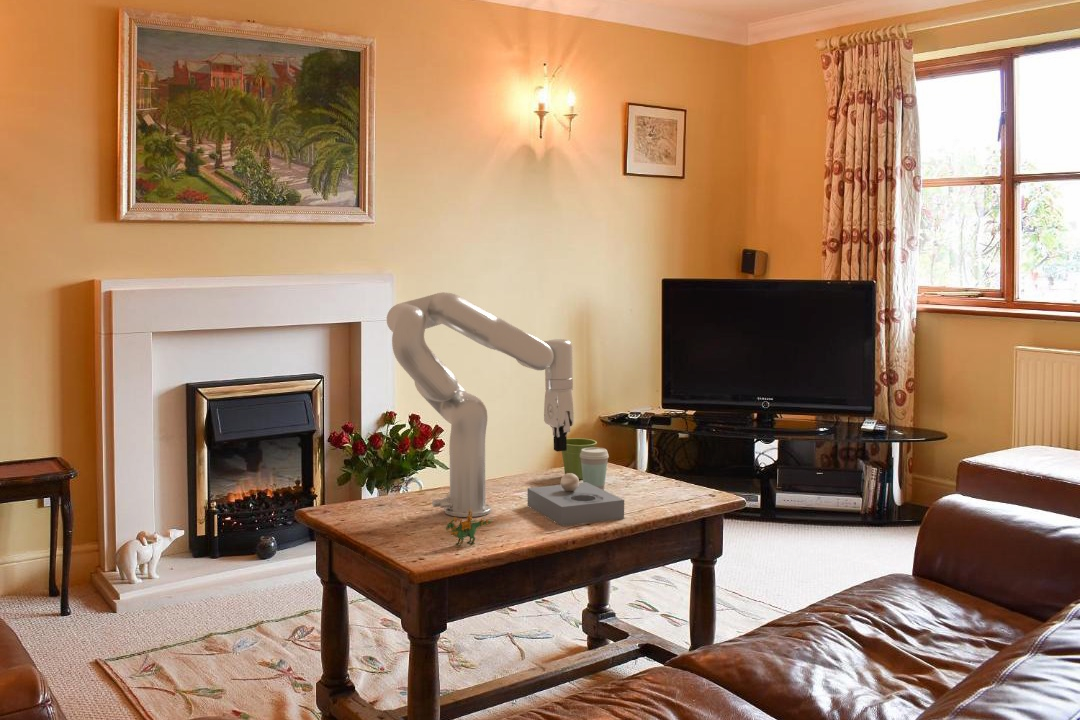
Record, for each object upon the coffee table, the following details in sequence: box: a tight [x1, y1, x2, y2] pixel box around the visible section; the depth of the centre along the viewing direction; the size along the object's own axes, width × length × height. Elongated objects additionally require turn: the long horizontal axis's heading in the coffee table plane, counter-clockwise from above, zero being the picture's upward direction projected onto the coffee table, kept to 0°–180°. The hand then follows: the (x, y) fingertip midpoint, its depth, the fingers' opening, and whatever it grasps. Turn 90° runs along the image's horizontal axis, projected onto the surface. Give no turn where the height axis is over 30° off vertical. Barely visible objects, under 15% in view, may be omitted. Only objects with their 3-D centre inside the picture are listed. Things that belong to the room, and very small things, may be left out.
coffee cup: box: [580, 446, 610, 491], centre depth 294 cm, size 8×9×12 cm
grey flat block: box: [527, 481, 625, 527], centre depth 270 cm, size 18×22×5 cm
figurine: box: [445, 510, 493, 547], centre depth 241 cm, size 3×12×8 cm, turn 118°
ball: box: [560, 473, 580, 492], centre depth 272 cm, size 5×5×5 cm
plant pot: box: [561, 437, 598, 480], centre depth 311 cm, size 12×12×11 cm
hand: (560, 450), depth 278 cm, fingers closed
